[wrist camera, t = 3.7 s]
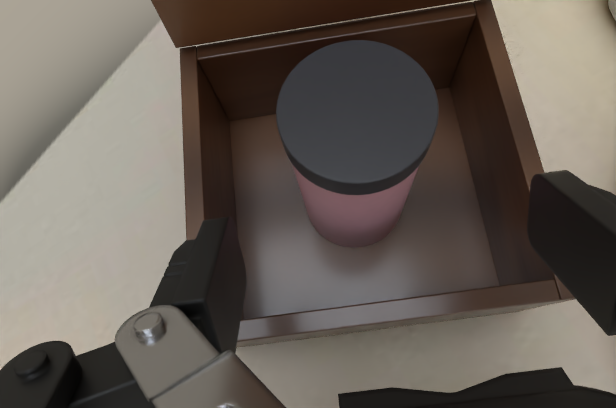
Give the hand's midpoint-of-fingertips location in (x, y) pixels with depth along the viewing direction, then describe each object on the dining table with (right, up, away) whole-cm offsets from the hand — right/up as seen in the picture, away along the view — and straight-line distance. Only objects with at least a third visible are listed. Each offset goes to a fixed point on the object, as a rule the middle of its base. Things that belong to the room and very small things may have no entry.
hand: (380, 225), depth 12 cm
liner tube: (+1, +1, +12) cm, 12 cm away
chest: (+1, +1, +13) cm, 13 cm away
